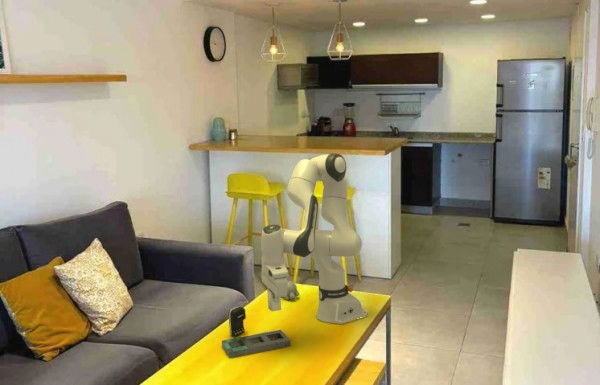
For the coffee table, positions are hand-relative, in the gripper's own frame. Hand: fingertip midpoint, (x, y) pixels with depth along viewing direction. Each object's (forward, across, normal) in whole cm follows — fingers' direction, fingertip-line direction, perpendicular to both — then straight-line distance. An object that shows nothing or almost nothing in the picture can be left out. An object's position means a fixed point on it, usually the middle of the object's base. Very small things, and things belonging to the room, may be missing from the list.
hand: (274, 300), depth 237 cm
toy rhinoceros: (+19, -43, +22) cm, 52 cm away
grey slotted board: (+18, 0, -8) cm, 20 cm away
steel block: (+4, 0, 0) cm, 4 cm away
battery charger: (+18, -14, -11) cm, 25 cm away
